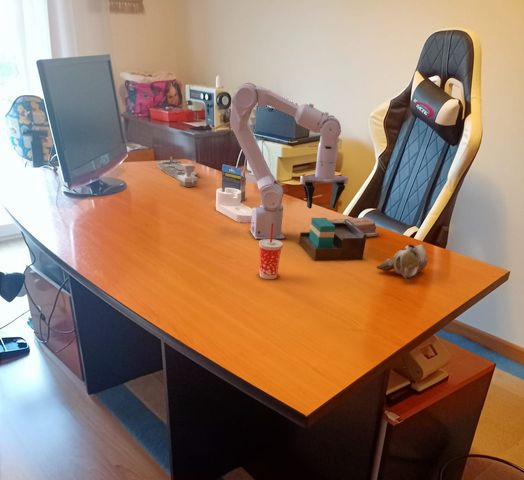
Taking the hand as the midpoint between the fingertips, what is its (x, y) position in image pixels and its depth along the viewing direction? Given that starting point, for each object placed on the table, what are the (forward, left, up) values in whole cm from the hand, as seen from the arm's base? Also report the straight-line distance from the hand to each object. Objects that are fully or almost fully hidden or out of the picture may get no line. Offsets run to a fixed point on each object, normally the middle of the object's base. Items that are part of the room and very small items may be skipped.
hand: (320, 207), depth 160 cm
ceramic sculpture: (+16, -29, -11) cm, 35 cm away
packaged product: (+13, +5, -11) cm, 17 cm away
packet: (-3, -10, -8) cm, 13 cm away
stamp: (-32, +67, -11) cm, 75 cm away
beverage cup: (-23, -27, -11) cm, 37 cm away
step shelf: (+1, -10, -10) cm, 14 cm away
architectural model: (-34, +90, -11) cm, 97 cm away
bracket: (-20, +28, -11) cm, 36 cm away
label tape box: (-17, +48, -11) cm, 52 cm away
